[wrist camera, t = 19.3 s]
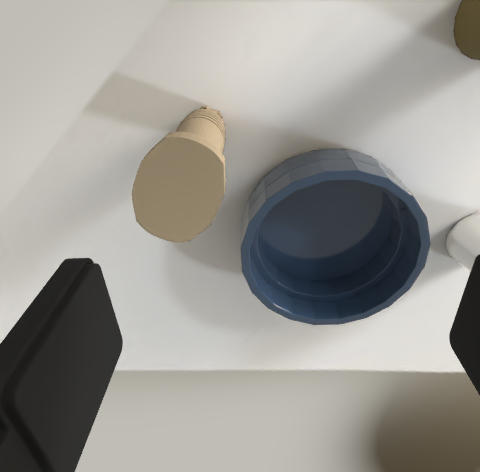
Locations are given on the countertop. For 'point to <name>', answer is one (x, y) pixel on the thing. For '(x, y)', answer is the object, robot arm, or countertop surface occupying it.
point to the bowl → (332, 238)
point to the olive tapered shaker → (468, 28)
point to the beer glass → (465, 241)
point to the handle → (182, 179)
